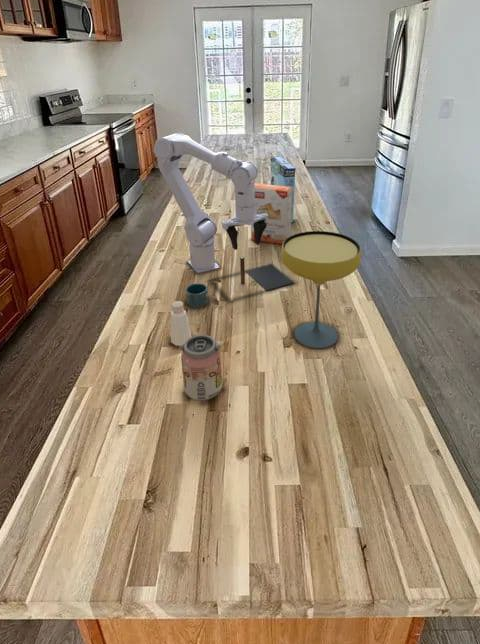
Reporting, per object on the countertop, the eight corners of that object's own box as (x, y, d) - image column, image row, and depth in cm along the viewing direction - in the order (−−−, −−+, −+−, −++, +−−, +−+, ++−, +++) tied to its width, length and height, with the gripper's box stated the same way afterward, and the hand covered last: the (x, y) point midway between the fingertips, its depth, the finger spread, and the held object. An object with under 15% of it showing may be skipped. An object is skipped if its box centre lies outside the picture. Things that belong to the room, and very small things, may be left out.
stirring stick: (240, 283, 134) (239, 256, 130) (243, 282, 135) (243, 256, 131) (241, 284, 133) (241, 258, 129) (245, 283, 134) (245, 257, 130)
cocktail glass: (364, 353, 103) (375, 259, 93) (290, 362, 101) (293, 267, 90) (337, 311, 120) (344, 227, 109) (273, 319, 117) (273, 233, 106)
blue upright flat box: (269, 208, 196) (269, 157, 186) (280, 206, 197) (281, 156, 187) (282, 223, 179) (283, 168, 169) (294, 222, 180) (295, 167, 170)
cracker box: (250, 240, 164) (249, 187, 155) (256, 234, 169) (255, 182, 160) (286, 245, 159) (287, 190, 150) (291, 239, 164) (292, 185, 155)
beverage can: (187, 372, 99) (183, 328, 94) (224, 372, 99) (222, 328, 93) (181, 402, 91) (175, 356, 85) (221, 403, 90) (218, 357, 85)
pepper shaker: (168, 337, 111) (163, 300, 106) (188, 332, 113) (185, 295, 108) (173, 349, 106) (169, 311, 102) (194, 343, 108) (191, 306, 103)
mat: (210, 280, 137) (210, 279, 137) (271, 265, 145) (271, 264, 145) (228, 301, 126) (228, 300, 125) (293, 283, 134) (293, 282, 134)
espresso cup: (183, 300, 127) (182, 286, 125) (203, 294, 129) (202, 281, 127) (191, 310, 122) (189, 296, 120) (211, 304, 124) (210, 291, 122)
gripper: (228, 212, 123) (230, 255, 129) (273, 204, 129) (272, 246, 135) (218, 205, 129) (220, 247, 135) (261, 197, 134) (262, 237, 140)
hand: (246, 246), depth 135 cm, fingers open, 7 cm apart
